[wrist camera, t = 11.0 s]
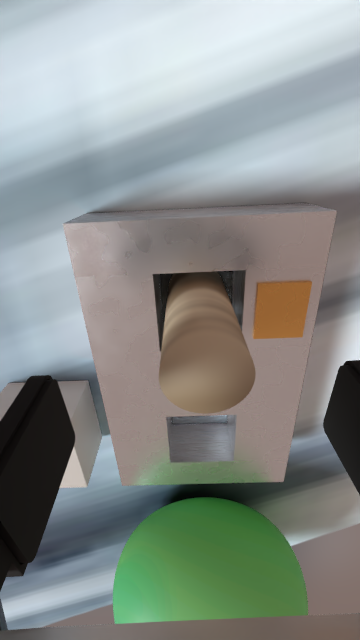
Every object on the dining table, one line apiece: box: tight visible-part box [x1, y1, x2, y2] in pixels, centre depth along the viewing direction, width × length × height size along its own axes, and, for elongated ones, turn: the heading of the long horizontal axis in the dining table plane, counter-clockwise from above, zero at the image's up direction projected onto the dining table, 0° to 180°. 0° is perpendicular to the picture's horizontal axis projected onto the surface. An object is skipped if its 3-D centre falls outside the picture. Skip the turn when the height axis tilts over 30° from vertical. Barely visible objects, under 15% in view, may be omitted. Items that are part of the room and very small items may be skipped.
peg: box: [159, 271, 256, 414], centre depth 16 cm, size 4×4×10 cm
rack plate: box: [63, 203, 337, 486], centre depth 21 cm, size 22×14×4 cm, turn 3°
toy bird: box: [113, 497, 308, 624], centre depth 27 cm, size 18×17×15 cm
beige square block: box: [0, 380, 102, 488], centre depth 24 cm, size 7×7×5 cm
